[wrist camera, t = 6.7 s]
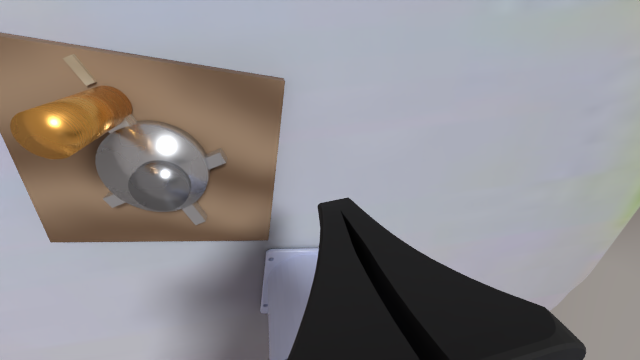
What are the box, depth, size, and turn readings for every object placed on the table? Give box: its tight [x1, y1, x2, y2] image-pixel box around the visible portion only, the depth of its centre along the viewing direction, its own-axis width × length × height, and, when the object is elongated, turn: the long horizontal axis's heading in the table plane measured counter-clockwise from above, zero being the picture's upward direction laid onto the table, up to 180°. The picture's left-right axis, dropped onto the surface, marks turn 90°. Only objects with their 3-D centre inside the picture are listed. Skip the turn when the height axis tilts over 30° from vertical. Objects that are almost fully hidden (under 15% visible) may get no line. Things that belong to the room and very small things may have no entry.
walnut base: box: [0, 33, 285, 242], centre depth 17 cm, size 13×15×1 cm
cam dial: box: [10, 86, 227, 225], centre depth 14 cm, size 10×8×5 cm
